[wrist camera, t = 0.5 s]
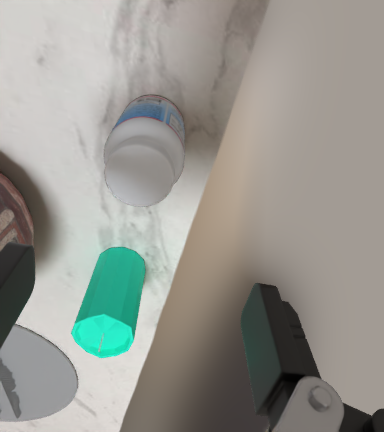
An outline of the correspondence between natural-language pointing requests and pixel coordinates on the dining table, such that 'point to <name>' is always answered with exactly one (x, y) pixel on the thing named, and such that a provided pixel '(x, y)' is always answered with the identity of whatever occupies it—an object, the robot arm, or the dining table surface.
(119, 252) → the candle
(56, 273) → the dining table surface
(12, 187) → the pottery
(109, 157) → the pill bottle
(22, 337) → the plate
